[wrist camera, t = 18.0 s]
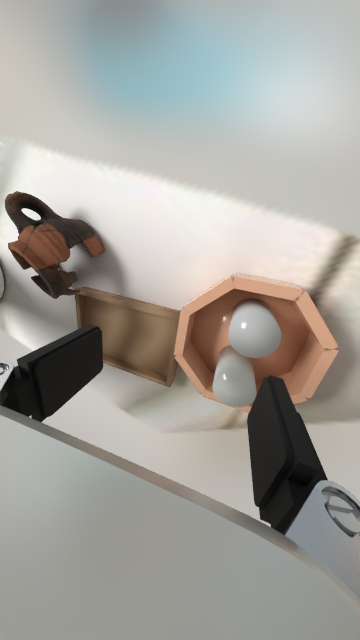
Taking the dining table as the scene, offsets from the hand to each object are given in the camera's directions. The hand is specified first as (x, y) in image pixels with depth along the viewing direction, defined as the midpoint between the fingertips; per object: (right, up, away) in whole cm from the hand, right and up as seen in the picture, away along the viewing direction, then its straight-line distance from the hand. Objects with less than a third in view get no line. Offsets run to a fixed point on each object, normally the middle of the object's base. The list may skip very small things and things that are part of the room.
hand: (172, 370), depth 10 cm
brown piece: (-14, +13, +15) cm, 25 cm away
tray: (-7, +1, +17) cm, 18 cm away
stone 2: (+7, -2, +12) cm, 14 cm away
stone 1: (+8, +3, +9) cm, 13 cm away
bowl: (+8, +1, +11) cm, 14 cm away
